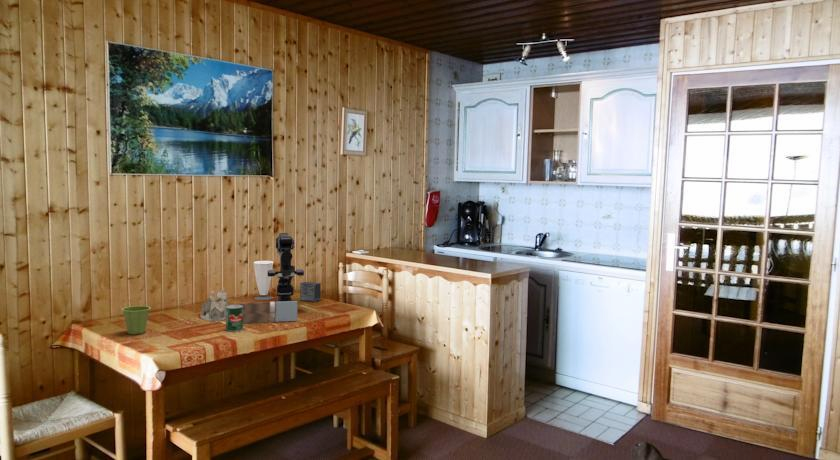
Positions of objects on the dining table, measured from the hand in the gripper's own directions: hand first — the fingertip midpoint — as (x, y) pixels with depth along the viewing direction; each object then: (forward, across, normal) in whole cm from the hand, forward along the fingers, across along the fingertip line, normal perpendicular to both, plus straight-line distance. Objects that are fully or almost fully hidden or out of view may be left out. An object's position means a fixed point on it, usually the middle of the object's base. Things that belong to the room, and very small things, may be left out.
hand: (285, 288), depth 319 cm
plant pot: (+13, -68, -31) cm, 76 cm away
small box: (+12, +16, +26) cm, 32 cm away
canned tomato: (+13, -26, -34) cm, 44 cm away
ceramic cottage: (+12, -36, -7) cm, 39 cm away
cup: (+12, -11, +38) cm, 41 cm away
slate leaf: (+12, -2, -23) cm, 26 cm away
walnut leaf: (+12, -15, -23) cm, 30 cm away
